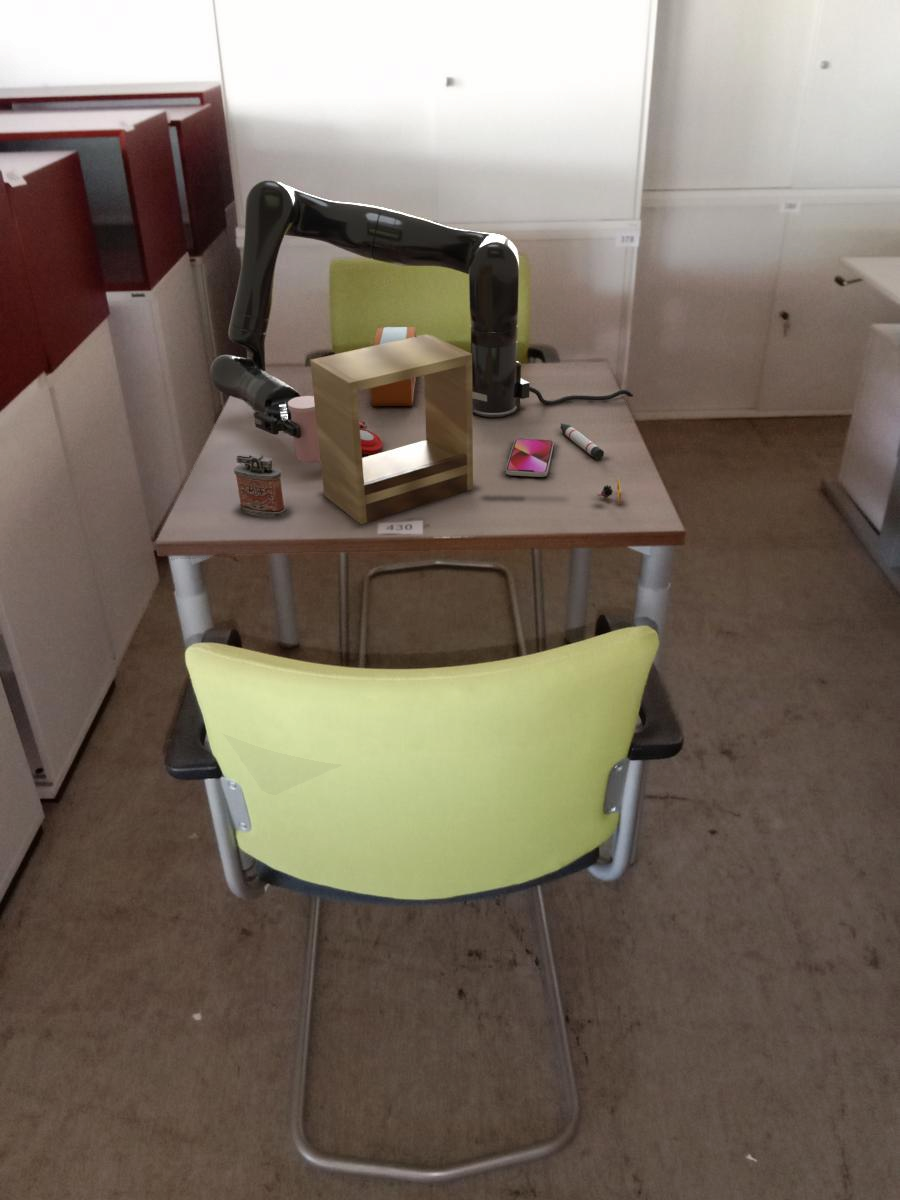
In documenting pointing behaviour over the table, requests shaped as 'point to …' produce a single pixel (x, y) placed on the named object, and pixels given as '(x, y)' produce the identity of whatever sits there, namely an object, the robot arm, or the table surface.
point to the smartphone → (530, 457)
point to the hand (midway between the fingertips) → (314, 428)
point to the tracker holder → (369, 441)
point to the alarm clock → (396, 391)
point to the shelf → (408, 469)
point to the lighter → (259, 486)
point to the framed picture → (610, 491)
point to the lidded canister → (305, 428)
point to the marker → (582, 441)
